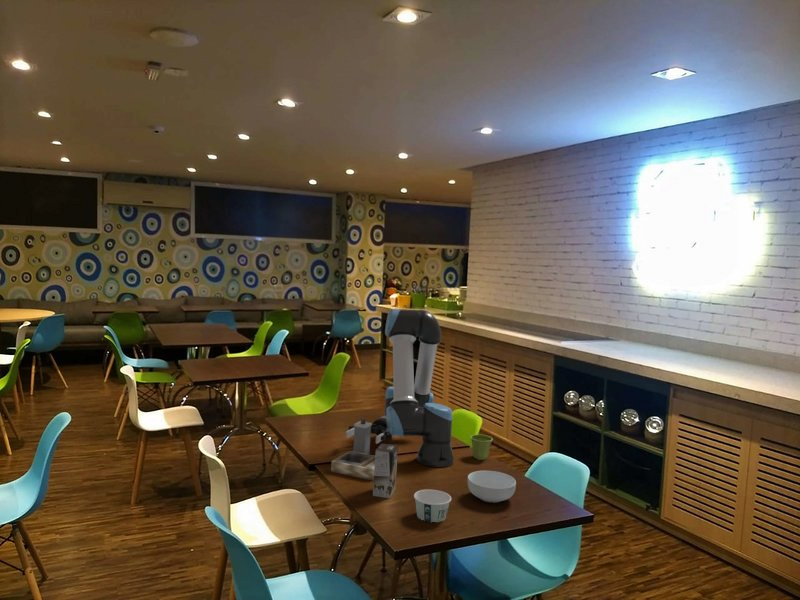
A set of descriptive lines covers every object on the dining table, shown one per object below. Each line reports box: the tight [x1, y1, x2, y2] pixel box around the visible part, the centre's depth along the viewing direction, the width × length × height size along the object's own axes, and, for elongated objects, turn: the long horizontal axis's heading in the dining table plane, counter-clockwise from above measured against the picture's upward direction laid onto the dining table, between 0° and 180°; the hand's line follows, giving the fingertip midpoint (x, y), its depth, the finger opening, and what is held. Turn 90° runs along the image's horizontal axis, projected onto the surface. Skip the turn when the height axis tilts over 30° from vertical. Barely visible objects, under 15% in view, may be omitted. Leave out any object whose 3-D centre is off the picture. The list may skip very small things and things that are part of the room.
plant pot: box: [469, 434, 494, 461], centre depth 252 cm, size 9×9×9 cm
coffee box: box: [372, 443, 399, 499], centre depth 207 cm, size 9×6×16 cm
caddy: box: [330, 450, 375, 482], centre depth 229 cm, size 18×15×4 cm
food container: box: [413, 489, 452, 523], centre depth 190 cm, size 12×12×6 cm
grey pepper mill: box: [352, 417, 373, 455], centre depth 244 cm, size 5×5×16 cm
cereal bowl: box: [467, 470, 517, 504], centre depth 208 cm, size 17×17×7 cm
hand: (361, 437), depth 245 cm, fingers open, 13 cm apart
